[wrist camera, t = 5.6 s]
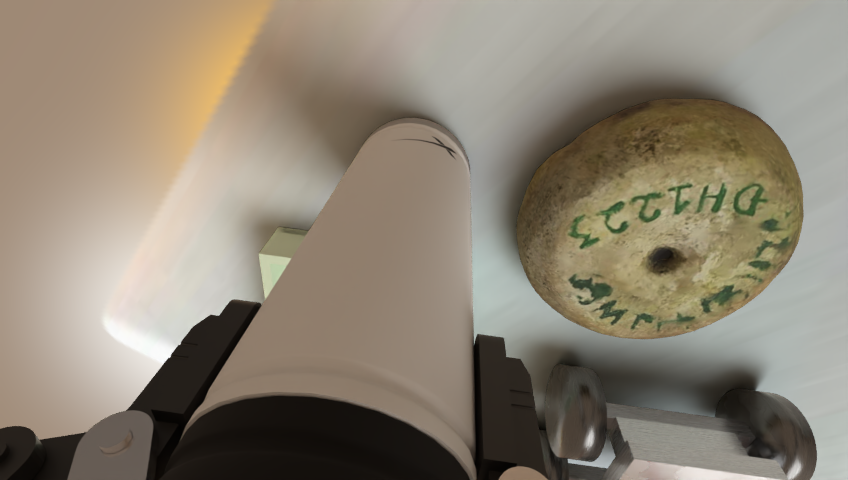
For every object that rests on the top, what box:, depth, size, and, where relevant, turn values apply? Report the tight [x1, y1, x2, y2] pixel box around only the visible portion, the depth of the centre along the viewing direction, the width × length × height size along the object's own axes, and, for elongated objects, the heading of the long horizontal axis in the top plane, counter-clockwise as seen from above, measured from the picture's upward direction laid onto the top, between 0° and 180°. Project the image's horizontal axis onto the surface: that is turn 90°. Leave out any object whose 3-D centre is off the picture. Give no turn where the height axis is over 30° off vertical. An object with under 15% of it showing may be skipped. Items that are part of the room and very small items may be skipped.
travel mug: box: [159, 118, 477, 480], centre depth 14 cm, size 6×7×20 cm
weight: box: [516, 99, 803, 339], centre depth 21 cm, size 14×13×5 cm
